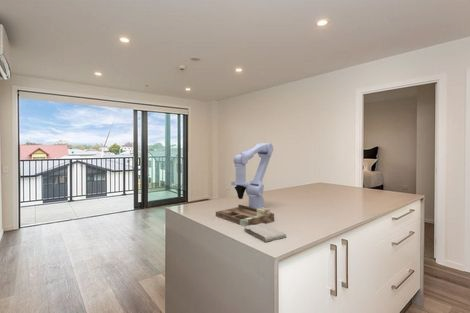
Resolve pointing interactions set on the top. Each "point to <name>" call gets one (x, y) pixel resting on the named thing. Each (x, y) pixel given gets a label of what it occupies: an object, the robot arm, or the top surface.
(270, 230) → the washcloth
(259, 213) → the birch block
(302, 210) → the top surface
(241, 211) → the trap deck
